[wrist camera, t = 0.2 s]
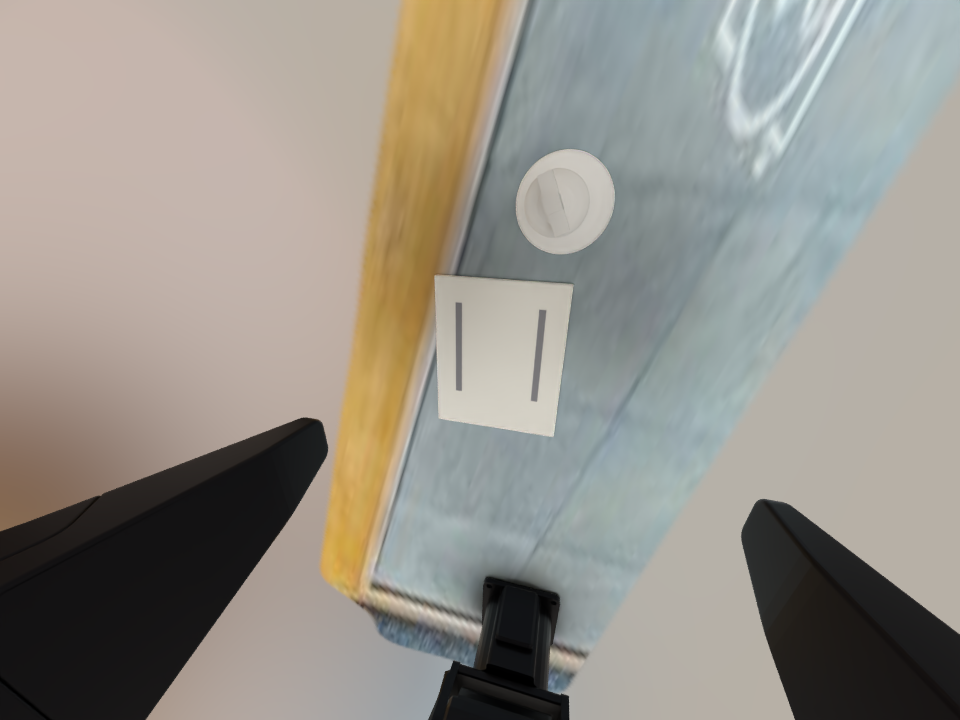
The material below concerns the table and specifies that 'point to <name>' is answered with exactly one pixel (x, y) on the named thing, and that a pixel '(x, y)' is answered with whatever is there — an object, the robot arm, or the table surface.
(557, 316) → the slotted cream plate
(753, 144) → the table surface
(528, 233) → the chess piece
